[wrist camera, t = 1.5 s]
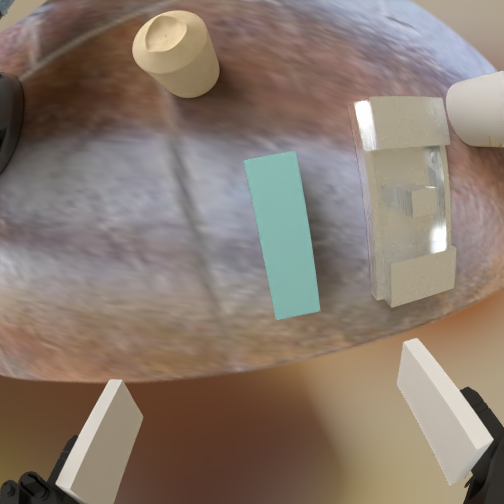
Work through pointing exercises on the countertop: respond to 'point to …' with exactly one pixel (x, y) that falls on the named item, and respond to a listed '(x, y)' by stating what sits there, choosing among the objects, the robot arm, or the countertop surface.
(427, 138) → the white block holder tray
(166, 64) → the candle
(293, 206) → the teal notched block
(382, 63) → the countertop surface
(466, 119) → the cup
